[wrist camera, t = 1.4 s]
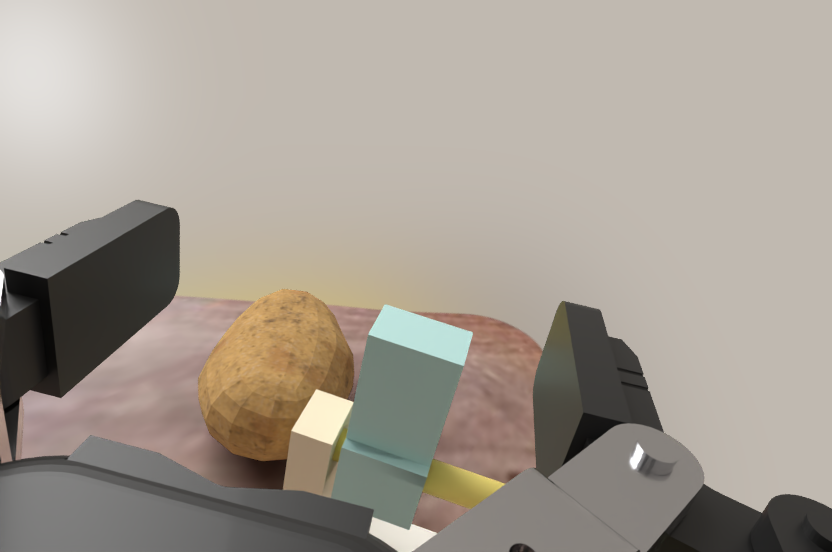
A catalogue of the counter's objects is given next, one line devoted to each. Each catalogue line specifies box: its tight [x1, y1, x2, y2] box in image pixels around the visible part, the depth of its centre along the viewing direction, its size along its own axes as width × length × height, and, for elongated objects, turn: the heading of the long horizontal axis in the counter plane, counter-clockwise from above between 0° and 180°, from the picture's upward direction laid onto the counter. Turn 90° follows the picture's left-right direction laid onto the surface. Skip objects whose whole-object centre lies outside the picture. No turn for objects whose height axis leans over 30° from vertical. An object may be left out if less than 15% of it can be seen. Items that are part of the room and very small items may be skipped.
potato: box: [198, 289, 354, 461], centre depth 39 cm, size 10×14×8 cm
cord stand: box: [283, 389, 505, 552], centre depth 30 cm, size 18×6×10 cm, turn 76°
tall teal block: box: [331, 305, 473, 530], centre depth 27 cm, size 4×4×10 cm
